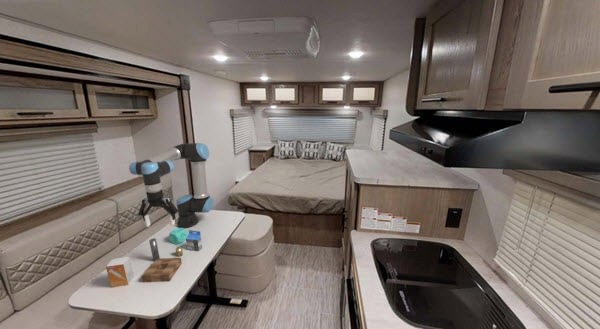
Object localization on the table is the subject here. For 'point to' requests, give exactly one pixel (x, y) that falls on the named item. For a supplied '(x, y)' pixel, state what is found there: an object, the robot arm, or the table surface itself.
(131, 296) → the table surface
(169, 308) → the table surface
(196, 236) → the label tape cartridge
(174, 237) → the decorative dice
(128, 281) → the small box
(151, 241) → the long pin
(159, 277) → the hole block
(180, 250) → the short pin
